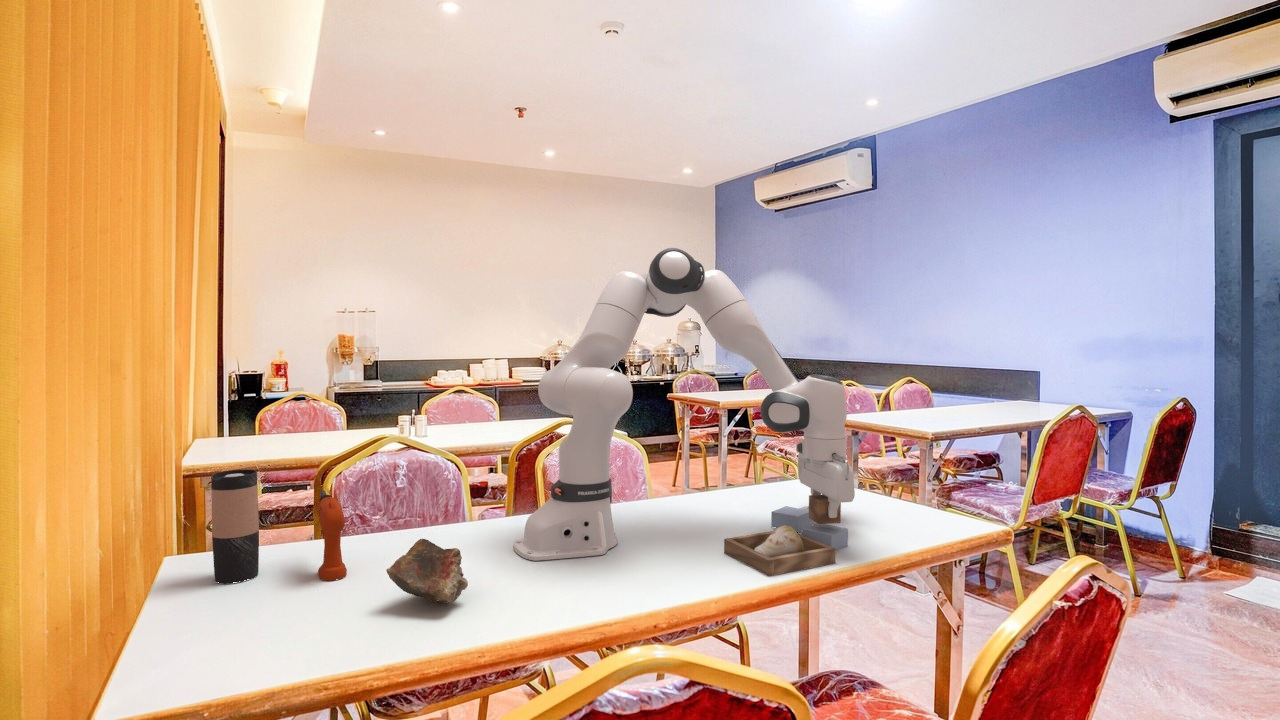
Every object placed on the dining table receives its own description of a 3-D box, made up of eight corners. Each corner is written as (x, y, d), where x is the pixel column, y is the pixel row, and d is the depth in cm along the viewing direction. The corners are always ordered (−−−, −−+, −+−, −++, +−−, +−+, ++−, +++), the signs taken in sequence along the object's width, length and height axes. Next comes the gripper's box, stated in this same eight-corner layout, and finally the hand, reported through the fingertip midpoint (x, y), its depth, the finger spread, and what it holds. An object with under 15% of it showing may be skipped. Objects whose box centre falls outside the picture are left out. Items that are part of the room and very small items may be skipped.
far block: (798, 533, 156) (798, 516, 155) (771, 528, 160) (771, 511, 160) (812, 527, 161) (812, 510, 161) (785, 522, 165) (786, 506, 165)
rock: (442, 585, 123) (441, 531, 123) (488, 600, 116) (487, 543, 116) (382, 607, 113) (381, 549, 113) (429, 625, 106) (428, 563, 106)
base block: (831, 554, 141) (831, 535, 141) (802, 547, 146) (802, 528, 146) (847, 546, 146) (847, 528, 146) (818, 540, 151) (819, 522, 150)
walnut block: (840, 523, 144) (840, 499, 144) (818, 524, 143) (818, 500, 143) (829, 516, 149) (830, 494, 148) (808, 517, 148) (808, 495, 148)
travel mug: (263, 568, 133) (260, 468, 132) (256, 581, 126) (253, 475, 125) (218, 573, 130) (215, 471, 129) (208, 587, 123) (206, 478, 122)
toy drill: (335, 544, 143) (335, 476, 141) (349, 582, 127) (349, 507, 125) (310, 548, 141) (309, 479, 139) (321, 587, 125) (320, 510, 123)
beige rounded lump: (742, 563, 136) (756, 516, 139) (782, 580, 138) (794, 533, 141) (762, 565, 129) (776, 515, 132) (803, 583, 131) (815, 533, 135)
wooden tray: (768, 576, 127) (768, 560, 127) (724, 552, 141) (724, 538, 141) (835, 563, 134) (835, 548, 134) (786, 542, 148) (786, 528, 148)
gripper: (862, 457, 136) (862, 525, 136) (818, 442, 156) (818, 501, 156) (833, 458, 134) (833, 527, 135) (792, 443, 155) (792, 502, 155)
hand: (824, 513), depth 146 cm, fingers closed on walnut block, 5 cm apart
